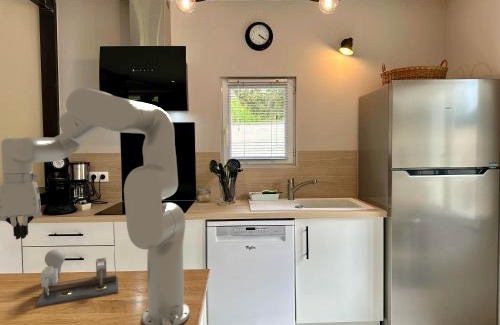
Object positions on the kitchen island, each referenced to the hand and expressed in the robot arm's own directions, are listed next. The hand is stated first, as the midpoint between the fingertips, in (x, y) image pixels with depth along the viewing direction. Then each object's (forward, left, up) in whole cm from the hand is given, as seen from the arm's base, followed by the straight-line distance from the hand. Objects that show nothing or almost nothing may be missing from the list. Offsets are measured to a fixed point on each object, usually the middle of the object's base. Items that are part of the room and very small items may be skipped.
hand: (21, 237), depth 96 cm
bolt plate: (-3, -16, -19) cm, 25 cm away
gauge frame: (-2, -16, -18) cm, 24 cm away
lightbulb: (+11, -7, -19) cm, 23 cm away
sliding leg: (-2, -7, -17) cm, 19 cm away
